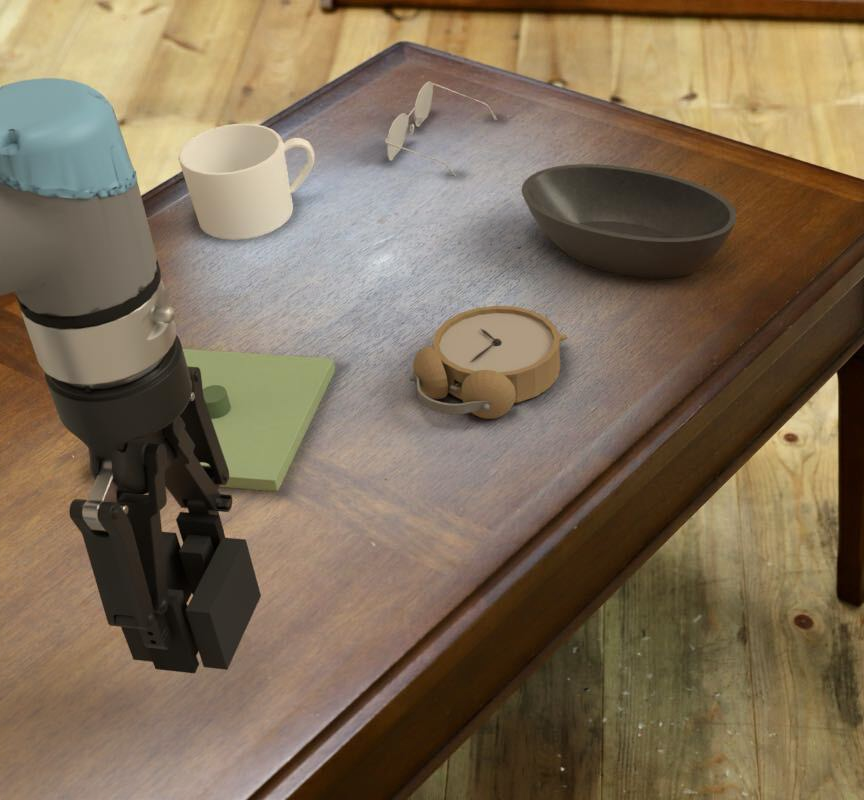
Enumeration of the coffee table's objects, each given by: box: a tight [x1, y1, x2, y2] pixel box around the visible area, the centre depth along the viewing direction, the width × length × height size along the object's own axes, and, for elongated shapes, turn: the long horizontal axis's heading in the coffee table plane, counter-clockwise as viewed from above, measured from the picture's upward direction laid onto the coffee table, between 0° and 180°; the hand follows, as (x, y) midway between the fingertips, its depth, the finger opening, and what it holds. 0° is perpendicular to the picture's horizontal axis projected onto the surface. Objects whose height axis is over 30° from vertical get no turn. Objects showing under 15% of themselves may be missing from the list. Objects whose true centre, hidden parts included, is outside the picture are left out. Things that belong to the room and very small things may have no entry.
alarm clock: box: [409, 305, 568, 420], centre depth 121 cm, size 11×5×15 cm
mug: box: [178, 123, 316, 241], centre depth 143 cm, size 13×10×8 cm
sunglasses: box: [384, 81, 498, 177], centre depth 154 cm, size 14×8×5 cm, turn 163°
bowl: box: [521, 163, 738, 280], centre depth 135 cm, size 12×22×6 cm, turn 65°
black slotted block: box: [120, 531, 262, 671], centre depth 90 cm, size 6×6×6 cm
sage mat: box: [182, 348, 336, 492], centre depth 118 cm, size 16×16×3 cm
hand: (197, 624), depth 92 cm, fingers closed on black slotted block, 6 cm apart
